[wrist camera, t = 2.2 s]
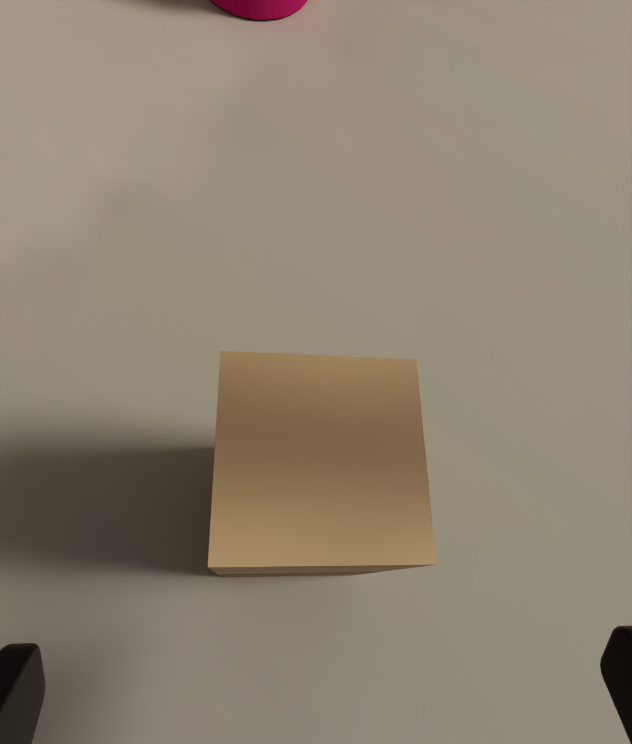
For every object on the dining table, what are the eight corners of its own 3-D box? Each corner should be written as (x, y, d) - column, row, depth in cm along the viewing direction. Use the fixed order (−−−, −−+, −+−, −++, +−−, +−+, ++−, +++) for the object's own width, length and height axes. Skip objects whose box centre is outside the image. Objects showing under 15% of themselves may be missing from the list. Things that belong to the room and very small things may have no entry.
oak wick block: (352, 575, 18) (436, 564, 10) (221, 577, 18) (208, 567, 10) (347, 449, 20) (416, 359, 12) (227, 446, 19) (220, 351, 12)
